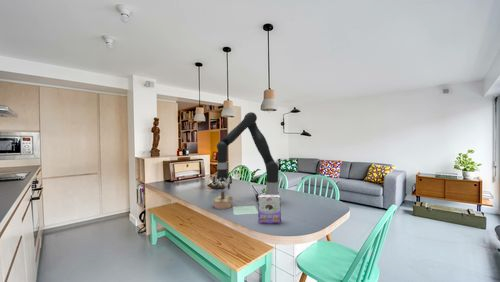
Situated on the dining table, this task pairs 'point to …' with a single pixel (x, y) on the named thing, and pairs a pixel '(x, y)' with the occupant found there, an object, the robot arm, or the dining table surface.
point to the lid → (222, 198)
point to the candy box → (269, 209)
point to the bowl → (222, 205)
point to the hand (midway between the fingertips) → (222, 189)
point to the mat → (245, 210)
